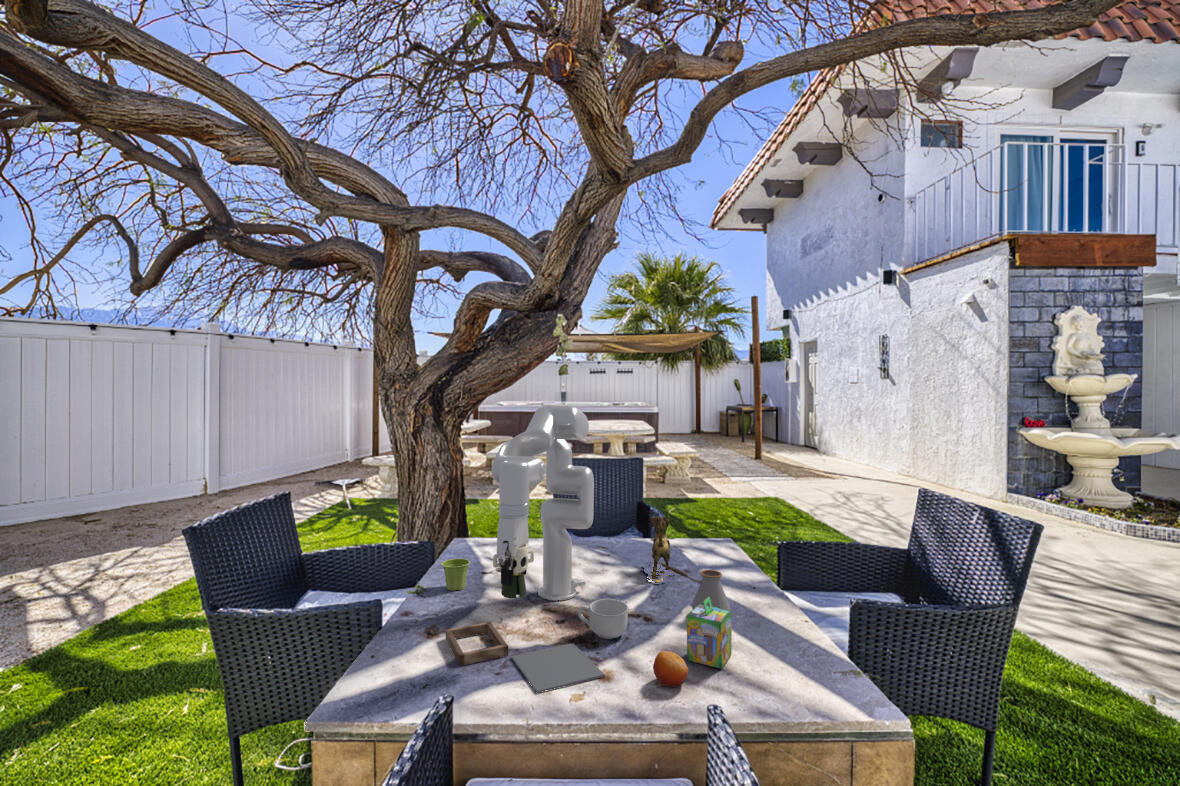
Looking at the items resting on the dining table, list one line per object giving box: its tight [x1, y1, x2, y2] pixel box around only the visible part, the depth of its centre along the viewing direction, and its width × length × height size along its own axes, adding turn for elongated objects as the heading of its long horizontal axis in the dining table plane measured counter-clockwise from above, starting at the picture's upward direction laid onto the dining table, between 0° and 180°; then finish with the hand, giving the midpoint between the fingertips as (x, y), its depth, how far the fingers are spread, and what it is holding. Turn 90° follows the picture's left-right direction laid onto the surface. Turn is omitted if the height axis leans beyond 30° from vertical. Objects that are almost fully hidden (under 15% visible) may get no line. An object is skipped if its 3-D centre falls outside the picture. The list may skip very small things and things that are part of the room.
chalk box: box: [686, 596, 733, 670], centre depth 142 cm, size 9×9×15 cm
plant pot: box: [441, 558, 471, 592], centre depth 191 cm, size 9×9×9 cm
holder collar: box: [445, 621, 509, 667], centre depth 147 cm, size 12×16×2 cm
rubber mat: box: [511, 642, 605, 694], centre depth 137 cm, size 17×18×1 cm
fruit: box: [652, 650, 689, 688], centre depth 130 cm, size 8×8×8 cm
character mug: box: [492, 543, 535, 599], centre depth 142 cm, size 11×7×13 cm, turn 118°
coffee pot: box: [659, 562, 731, 611], centre depth 169 cm, size 21×12×15 cm, turn 79°
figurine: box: [647, 515, 671, 583], centre depth 207 cm, size 13×25×20 cm, turn 171°
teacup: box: [577, 598, 629, 640], centre depth 156 cm, size 14×11×8 cm
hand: (513, 578), depth 142 cm, fingers closed on character mug, 7 cm apart
